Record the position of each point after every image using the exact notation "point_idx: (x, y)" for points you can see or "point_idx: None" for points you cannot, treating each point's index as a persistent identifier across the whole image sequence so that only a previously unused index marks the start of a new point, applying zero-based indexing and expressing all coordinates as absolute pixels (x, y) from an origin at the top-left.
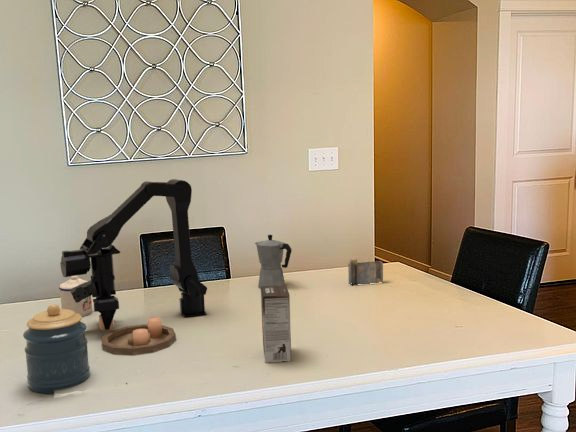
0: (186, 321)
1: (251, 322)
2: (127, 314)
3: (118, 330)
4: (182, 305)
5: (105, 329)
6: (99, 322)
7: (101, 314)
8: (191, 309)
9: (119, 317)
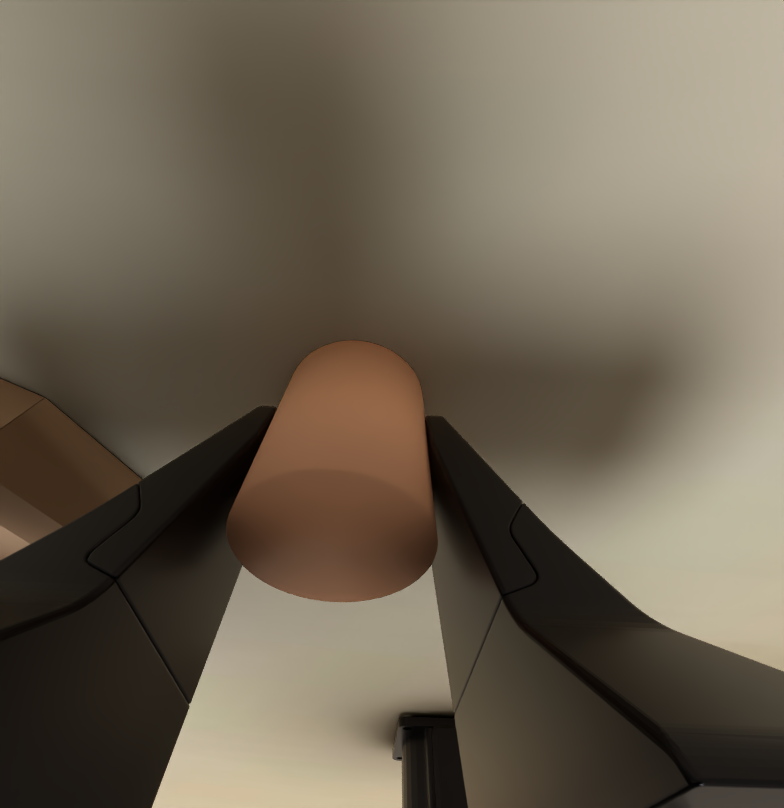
0: (340, 709)
1: (239, 783)
2: (708, 569)
3: (2, 521)
4: (435, 789)
5: (262, 407)
6: (342, 400)
7: (10, 565)
8: (406, 771)
9: (687, 523)
